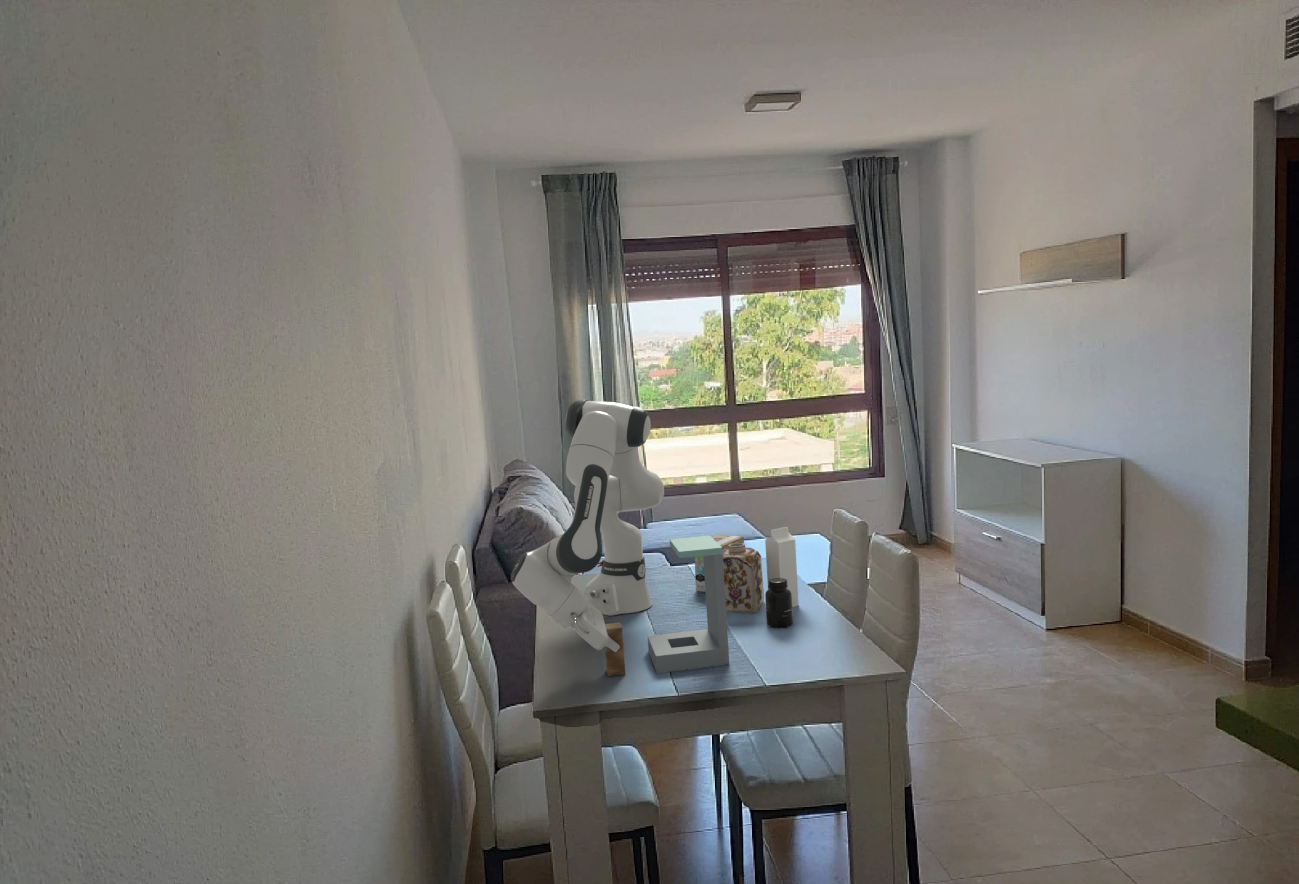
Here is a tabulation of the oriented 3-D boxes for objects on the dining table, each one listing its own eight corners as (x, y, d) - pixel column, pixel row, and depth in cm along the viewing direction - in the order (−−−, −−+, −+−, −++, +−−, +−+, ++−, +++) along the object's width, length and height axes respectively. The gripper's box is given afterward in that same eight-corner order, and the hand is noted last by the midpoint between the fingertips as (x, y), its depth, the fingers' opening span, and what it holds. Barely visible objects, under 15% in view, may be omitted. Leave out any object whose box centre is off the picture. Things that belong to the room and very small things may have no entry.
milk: (798, 605, 245) (795, 528, 242) (781, 610, 242) (777, 531, 240) (785, 601, 250) (781, 525, 248) (768, 605, 247) (764, 528, 245)
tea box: (724, 594, 261) (721, 545, 260) (695, 591, 266) (692, 543, 265) (746, 581, 274) (744, 535, 272) (718, 579, 279) (715, 533, 278)
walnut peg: (608, 676, 201) (604, 629, 200) (606, 670, 205) (603, 624, 204) (625, 674, 201) (622, 627, 200) (623, 668, 205) (620, 622, 204)
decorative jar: (756, 613, 240) (752, 549, 238) (715, 612, 244) (711, 549, 242) (765, 601, 251) (761, 539, 250) (725, 600, 255) (721, 539, 253)
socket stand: (657, 672, 201) (648, 555, 198) (648, 651, 216) (640, 541, 213) (729, 664, 203) (722, 547, 200) (716, 643, 218) (709, 535, 215)
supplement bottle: (792, 629, 225) (790, 583, 224) (765, 629, 227) (763, 583, 225) (793, 620, 232) (791, 576, 231) (767, 620, 233) (765, 576, 232)
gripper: (582, 610, 190) (630, 649, 192) (577, 586, 210) (621, 621, 213) (563, 632, 190) (611, 671, 192) (560, 606, 210) (604, 641, 212)
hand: (616, 644), depth 203 cm, fingers closed on walnut peg, 4 cm apart
